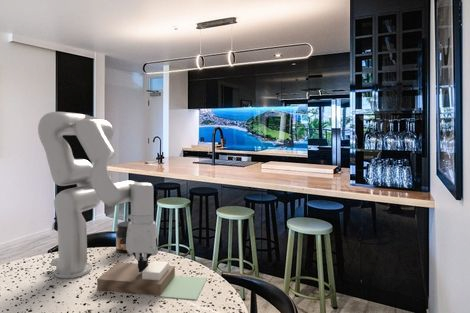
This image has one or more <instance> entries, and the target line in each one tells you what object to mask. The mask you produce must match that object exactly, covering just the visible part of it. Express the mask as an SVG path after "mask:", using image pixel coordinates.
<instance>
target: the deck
mask: <svg viewBox="0 0 470 313" xmlns="http://www.w3.org/2000/svg"><path fill="white" fill-rule="evenodd" d="M149 264H150V263H148V265H149ZM175 270H176V268H175V266H173V265H172V266H171V265H169V270H168V271H167V272H166V273H165V274H164V275H163V277H162V278H161V279H160V280H150V279H142V272H139V268H138V263H133V262H120V261H118V262H117V263H115V264H114V265H113V266H112V267H111V268H109V269H108V270H106V272H103V274H102V275H101V276H98V277H97V279H96V288H97V289H96V290H97V291H99V292H108V293H120V294H133V295H142V296H155V297H160V295H161V294H162V293H163V291H164V290H165V289H166V287H167V286H168V285H169V283H170V282H171V281H172V279H173V278H174V276H176V275H175V274H176V271H175Z"/></svg>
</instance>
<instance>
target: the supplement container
mask: <svg viewBox="0 0 470 313" xmlns="http://www.w3.org/2000/svg"><path fill="white" fill-rule="evenodd" d="M130 222H131V221H130V220H128V221H127V220H126V221H120V222H119V223H117V224H116V231H115V238H116V239H115V240H116V241H115V244H116V245H115V249H116V252H118V253H121V254H129V253H128V252H127V250H126V236H127V229H128V224H129V223H130Z"/></svg>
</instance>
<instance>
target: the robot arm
mask: <svg viewBox="0 0 470 313" xmlns="http://www.w3.org/2000/svg"><path fill="white" fill-rule="evenodd" d="M37 133H38V137H39V140H40V143H41V145H42V147H43V149H44V152H45V154H46V160H47V163H48V167H49V171H50V175H51V178H52V181H53V182H54V184H55V185H57V186H60V187H65V186H72V185H76V186H75V187H72V188H67V189H64V190H61V191H59V193H57V194H56V195H55V197H54V200H53V205H54V210H55V214H56V219H57V220H56V222H57V237H58V238H57V242H58V246H57V247H58V258H52V259H51V262H50V264H49V266H51V267H55V270H54V272H53V273H54V277H55V278H58V279H74V278H78V277H82V276H85V275H87V274H88V273H90V272H91V271H92V270H93V268H92V267H93V265H92V264H91V262H90V263H89V262H88V243H87V242H88V237H87V236H88V234H87V230H88V229H87V228H88V227H87V221H86V219H85V218H84V215H83V214H82V213H83V212H86V211H89V210H92V209H94V208H96V207H98V206H99V205H100V203H101V202H102V203H103V204H104V205H106V206H109V207H115V206H119V205H121V204H125V203H129V202H130V214H128V215H127V218H126V219H128V220H129V221H131V222H130V223H129V224H128V229H127V236H126V250H127V252H128V253H127V254H129V255H132V256H133V257H135V259H136V261H137V264H138V268H139V272H142V271H143V270H144V269H145V268H146V267H147V266H148V264H149V258H150V257H152V256H153V257H154V256H157V255H158V253H159V250H158V248H159V234H158V228H157V223H156V221H155V220H154V215H155V214H154V210H155V208H154V207H155V206H154V204H155V203H154V185H153V184H152V183H151V182H146V181H145V182H141V181H140V182H138V181H135V180H129V179H127V180H122V181H116V182H113V180H112V178H111V176H110V174H109V172H108V164H109V162H110V161H111V160H112V159H114V157H115V155H116V153H115V152H116V151H115V150H114V148H113V146H112V145H111V144H110V141H111V140H112V138H113V137H114V129H113V126H112V124H111V123H110V122H109V121H107V120H106V119H102V118H98V117H95V116H92V115H91V116H90V115H89V114H83V113H79V112H78V113H76V112H66V111H50V112H48V113H45V114H43V116H42V117H41V118H40V119H39V122H38V125H37ZM63 136H76V138H77V139H78V141H79V143H80V145H81V146H82V148H83V150H84V152H85V153H86V155H87V157H88V159H89V160H90V161H89V160H87V159H84V158H75V157H74V155H73V151H72V148H71V146H70V143H69V142H68V141H67V140H66V139H65V138H64V137H63Z"/></svg>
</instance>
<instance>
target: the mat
mask: <svg viewBox="0 0 470 313" xmlns="http://www.w3.org/2000/svg"><path fill="white" fill-rule="evenodd" d="M207 280H208V278H207V277H196V276H185V275H175V276H174V278H173V279H172V281H171V282H170V283H169V285H168V286H167V287H166V289H165V290H164V291H163V293H162V294H161V295H160V296H159V297H160V298H168V299H178V300H179V299H180V300H191V301H197V299H198V298H199V295H200V294H201V291H202V289H203V288H204V285H205V284H206V282H207Z"/></svg>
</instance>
